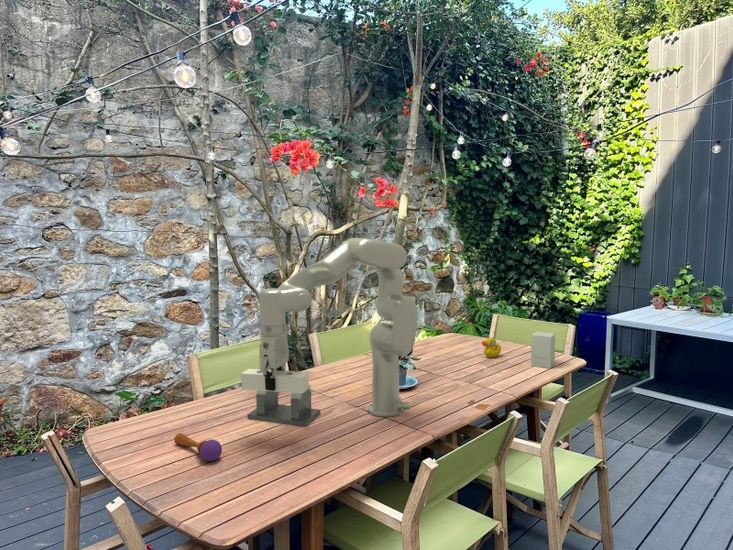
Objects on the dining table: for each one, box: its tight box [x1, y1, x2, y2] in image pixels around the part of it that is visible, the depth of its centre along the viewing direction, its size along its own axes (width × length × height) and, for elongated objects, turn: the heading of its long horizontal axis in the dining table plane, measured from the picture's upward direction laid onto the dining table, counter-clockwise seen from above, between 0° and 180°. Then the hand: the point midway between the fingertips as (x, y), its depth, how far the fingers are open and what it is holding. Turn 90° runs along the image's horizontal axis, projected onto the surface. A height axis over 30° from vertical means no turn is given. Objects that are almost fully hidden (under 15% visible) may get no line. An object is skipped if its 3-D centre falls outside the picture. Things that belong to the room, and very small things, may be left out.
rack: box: [246, 385, 321, 428], centre depth 181 cm, size 22×12×10 cm, turn 72°
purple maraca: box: [173, 432, 223, 462], centre depth 153 cm, size 6×6×20 cm
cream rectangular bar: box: [240, 368, 309, 394], centre depth 160 cm, size 20×5×5 cm, turn 77°
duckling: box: [481, 337, 502, 359], centre depth 256 cm, size 11×5×10 cm, turn 118°
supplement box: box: [530, 330, 556, 369], centre depth 243 cm, size 9×9×15 cm
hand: (275, 386), depth 161 cm, fingers closed on cream rectangular bar, 5 cm apart
